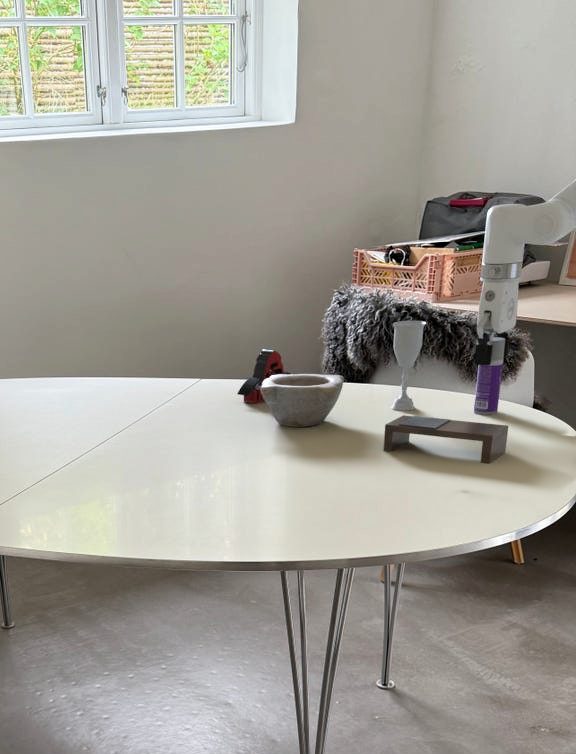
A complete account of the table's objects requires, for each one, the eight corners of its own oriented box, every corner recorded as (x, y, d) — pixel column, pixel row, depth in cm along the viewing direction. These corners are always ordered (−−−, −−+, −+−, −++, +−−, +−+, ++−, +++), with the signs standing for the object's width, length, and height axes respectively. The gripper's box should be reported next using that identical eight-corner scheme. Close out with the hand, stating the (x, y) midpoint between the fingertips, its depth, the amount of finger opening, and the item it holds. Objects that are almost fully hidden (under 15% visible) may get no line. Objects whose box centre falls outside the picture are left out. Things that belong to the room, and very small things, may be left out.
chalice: (414, 412, 205) (421, 326, 198) (383, 410, 209) (388, 325, 201) (422, 405, 211) (429, 320, 203) (391, 403, 214) (397, 320, 206)
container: (501, 413, 200) (509, 339, 193) (479, 415, 199) (487, 341, 193) (491, 408, 204) (499, 336, 197) (470, 410, 204) (477, 338, 197)
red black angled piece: (247, 405, 222) (247, 356, 217) (237, 403, 225) (236, 355, 220) (298, 391, 232) (299, 344, 227) (287, 390, 234) (288, 343, 230)
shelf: (505, 452, 174) (508, 424, 172) (489, 463, 169) (492, 434, 167) (401, 440, 186) (403, 414, 184) (383, 450, 181) (385, 423, 179)
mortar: (346, 413, 209) (348, 371, 205) (334, 432, 195) (336, 387, 191) (270, 412, 215) (271, 371, 211) (253, 430, 201) (253, 387, 197)
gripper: (504, 277, 181) (494, 369, 189) (534, 267, 193) (523, 354, 200) (465, 277, 186) (456, 367, 193) (497, 267, 197) (487, 352, 205)
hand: (490, 360), depth 197 cm, fingers open, 9 cm apart
